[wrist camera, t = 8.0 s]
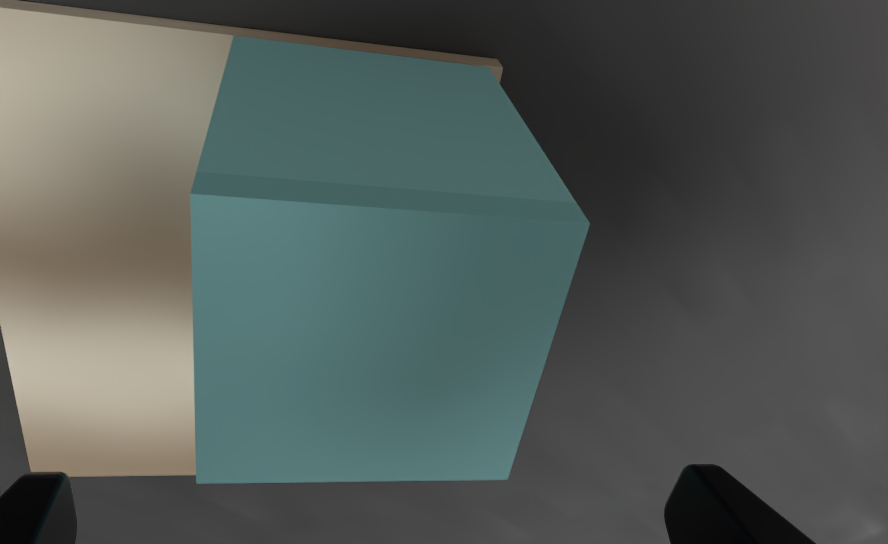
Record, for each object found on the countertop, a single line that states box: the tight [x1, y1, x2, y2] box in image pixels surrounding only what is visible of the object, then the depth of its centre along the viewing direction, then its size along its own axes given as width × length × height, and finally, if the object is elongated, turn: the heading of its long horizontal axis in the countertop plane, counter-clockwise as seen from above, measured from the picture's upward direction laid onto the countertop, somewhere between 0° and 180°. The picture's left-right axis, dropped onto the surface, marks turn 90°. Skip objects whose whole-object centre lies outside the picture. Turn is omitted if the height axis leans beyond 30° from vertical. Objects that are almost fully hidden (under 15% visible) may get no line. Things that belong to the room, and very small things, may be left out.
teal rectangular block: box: [190, 36, 590, 484], centre depth 13 cm, size 5×5×7 cm
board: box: [0, 0, 503, 477], centre depth 18 cm, size 13×11×1 cm
